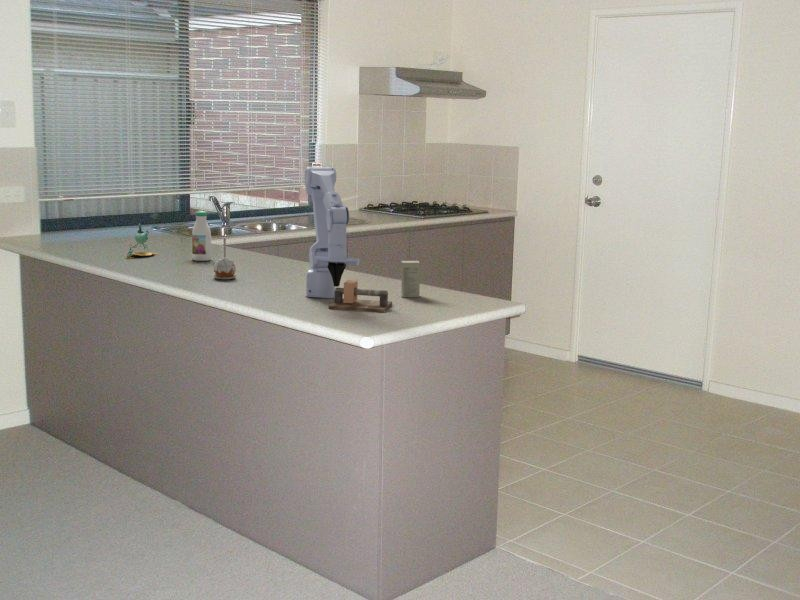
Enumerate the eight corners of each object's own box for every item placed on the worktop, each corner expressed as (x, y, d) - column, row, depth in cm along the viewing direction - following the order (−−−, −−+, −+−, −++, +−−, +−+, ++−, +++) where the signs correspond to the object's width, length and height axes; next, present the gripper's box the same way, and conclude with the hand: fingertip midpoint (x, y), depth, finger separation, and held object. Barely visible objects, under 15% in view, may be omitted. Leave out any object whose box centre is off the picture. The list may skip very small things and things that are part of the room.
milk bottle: (202, 257, 394) (201, 210, 390) (215, 259, 390) (214, 211, 386) (188, 259, 388) (187, 211, 384) (201, 262, 384) (200, 213, 380)
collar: (343, 302, 301) (343, 283, 300) (348, 299, 307) (348, 279, 306) (352, 303, 300) (352, 283, 299) (357, 299, 307) (357, 280, 305)
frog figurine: (114, 257, 390) (116, 222, 388) (148, 257, 404) (150, 223, 403) (129, 259, 384) (130, 223, 383) (163, 260, 399) (165, 225, 397)
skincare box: (418, 295, 325) (420, 260, 323) (419, 297, 321) (420, 262, 319) (400, 295, 325) (401, 260, 323) (400, 297, 321) (401, 262, 318)
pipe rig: (328, 308, 299) (328, 290, 298) (339, 301, 311) (339, 283, 310) (383, 312, 296) (384, 294, 294) (392, 304, 308) (392, 287, 307)
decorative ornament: (239, 279, 347) (239, 238, 344) (220, 281, 342) (220, 240, 339) (229, 276, 353) (228, 236, 350) (210, 277, 348) (210, 237, 345)
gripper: (311, 244, 299) (311, 286, 301) (356, 247, 296) (355, 289, 298) (318, 242, 305) (317, 283, 308) (361, 244, 303) (360, 285, 305)
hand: (336, 286), depth 304 cm, fingers closed
